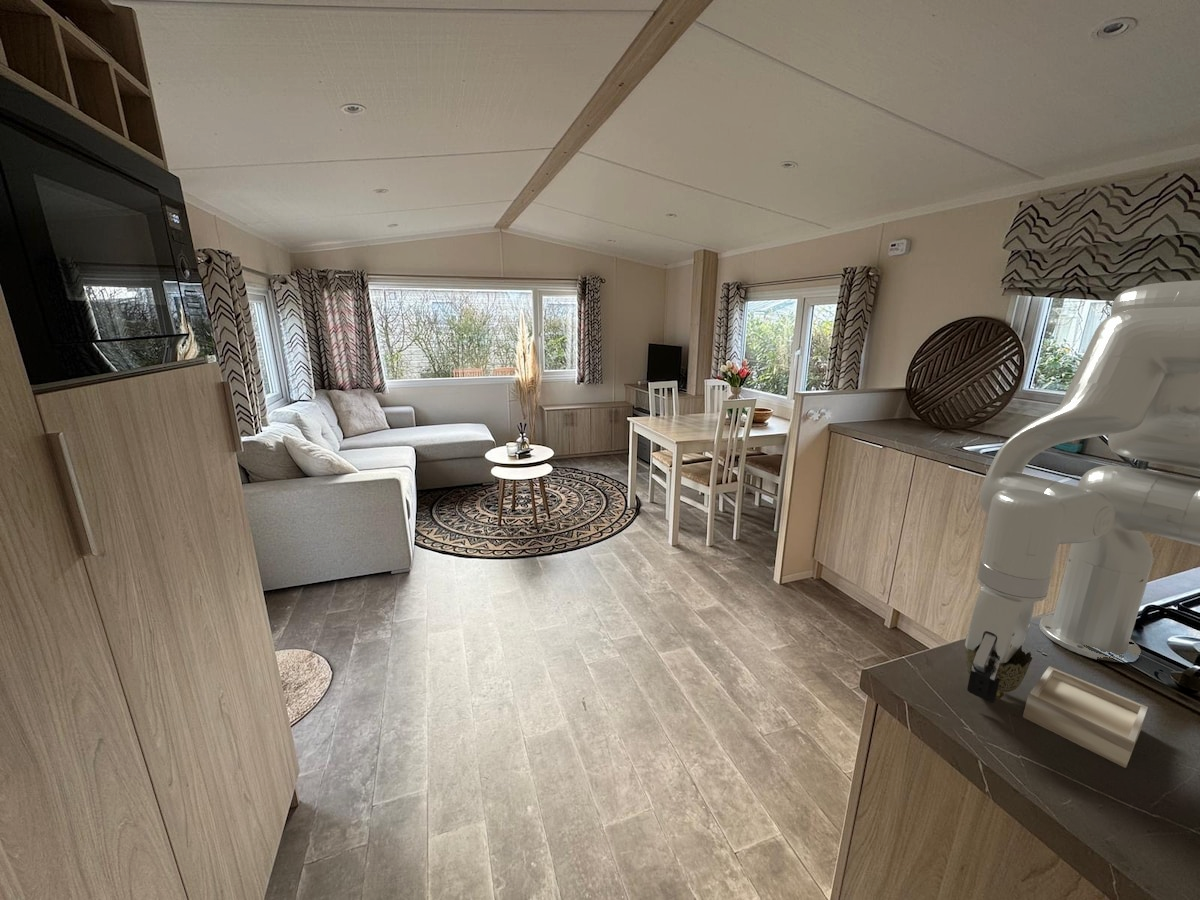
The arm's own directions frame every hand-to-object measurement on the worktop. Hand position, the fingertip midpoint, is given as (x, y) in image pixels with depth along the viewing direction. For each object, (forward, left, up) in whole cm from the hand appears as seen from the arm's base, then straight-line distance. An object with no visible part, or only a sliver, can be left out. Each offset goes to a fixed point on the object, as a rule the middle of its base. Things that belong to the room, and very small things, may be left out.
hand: (990, 684), depth 72 cm
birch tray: (-5, +9, -2) cm, 11 cm away
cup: (0, 0, -2) cm, 2 cm away
